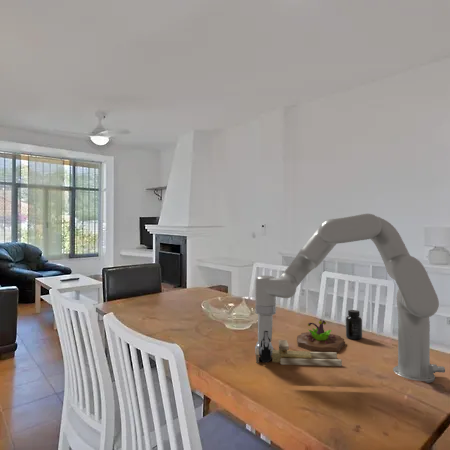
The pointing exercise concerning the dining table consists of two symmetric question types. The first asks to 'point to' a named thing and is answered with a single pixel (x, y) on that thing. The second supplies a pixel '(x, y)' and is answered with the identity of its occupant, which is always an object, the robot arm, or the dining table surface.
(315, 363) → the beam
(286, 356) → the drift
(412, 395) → the dining table surface
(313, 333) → the plant
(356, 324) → the supplement bottle
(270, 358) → the dark grey short cylinder
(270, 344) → the v block
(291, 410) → the dining table surface
